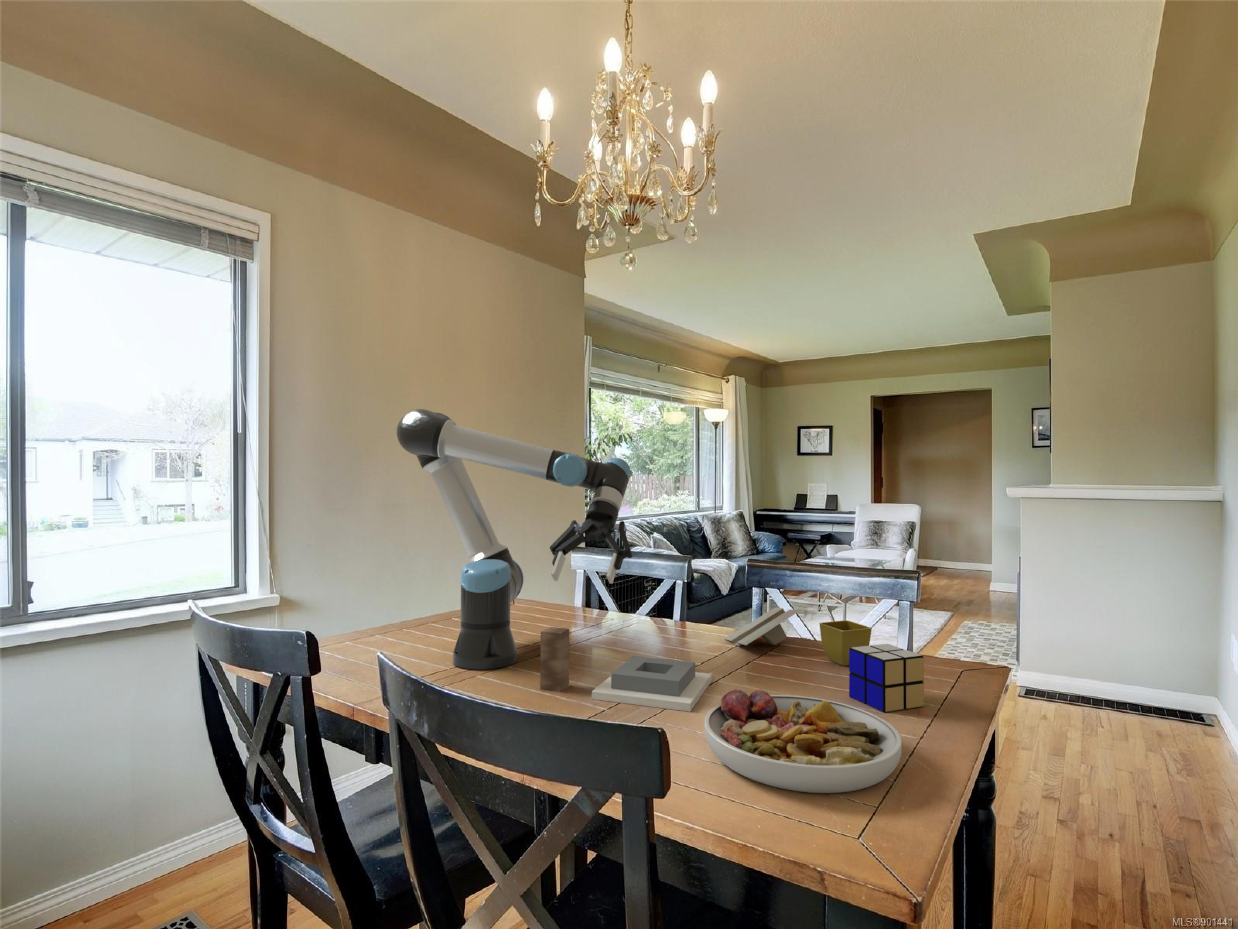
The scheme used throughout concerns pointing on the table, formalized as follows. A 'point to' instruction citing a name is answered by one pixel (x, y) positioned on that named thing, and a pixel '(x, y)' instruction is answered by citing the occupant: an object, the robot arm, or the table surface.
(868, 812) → the table surface
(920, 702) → the puzzle cube
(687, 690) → the socket plate
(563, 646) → the walnut peg
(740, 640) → the grey sloped stand
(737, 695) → the bowl
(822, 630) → the flower pot
